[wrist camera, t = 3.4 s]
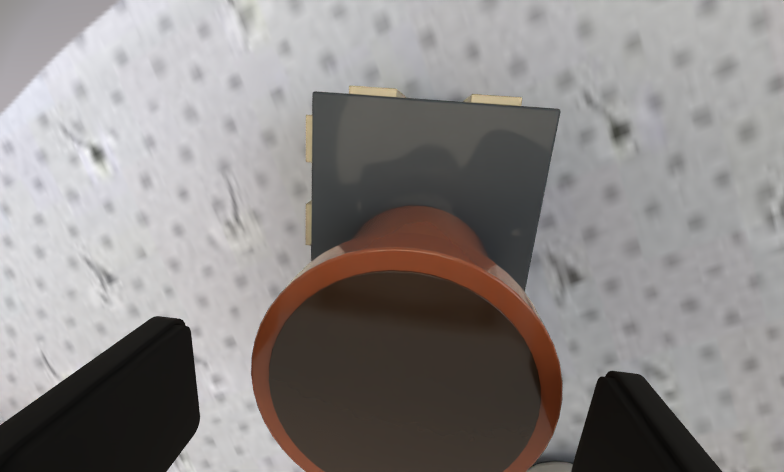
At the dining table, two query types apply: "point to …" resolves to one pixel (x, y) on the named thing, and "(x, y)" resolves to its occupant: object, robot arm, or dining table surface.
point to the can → (551, 467)
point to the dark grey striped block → (429, 166)
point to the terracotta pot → (407, 356)
